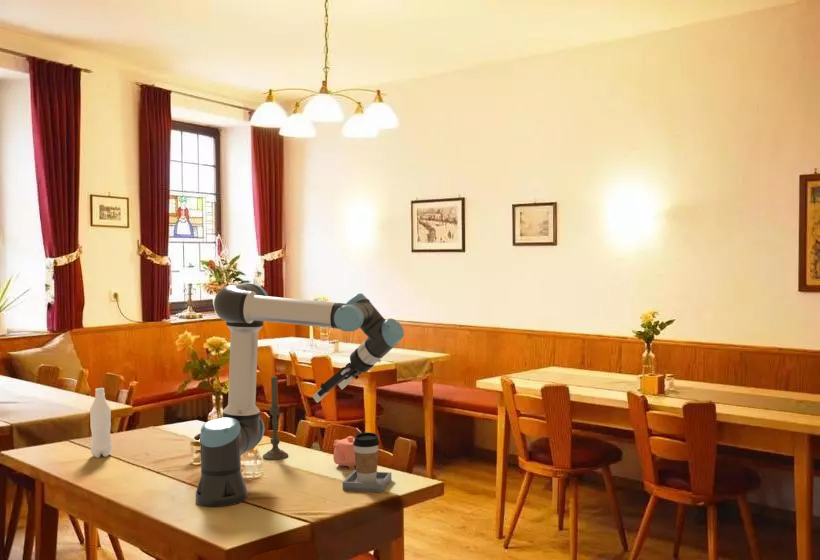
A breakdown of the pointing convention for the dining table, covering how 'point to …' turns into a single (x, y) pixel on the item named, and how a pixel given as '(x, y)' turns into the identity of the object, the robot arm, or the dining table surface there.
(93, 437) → the water bottle
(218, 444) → the robot arm
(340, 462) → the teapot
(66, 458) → the dining table surface
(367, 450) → the coffee cup
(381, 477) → the tray
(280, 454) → the candlestick holder
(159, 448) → the dining table surface
